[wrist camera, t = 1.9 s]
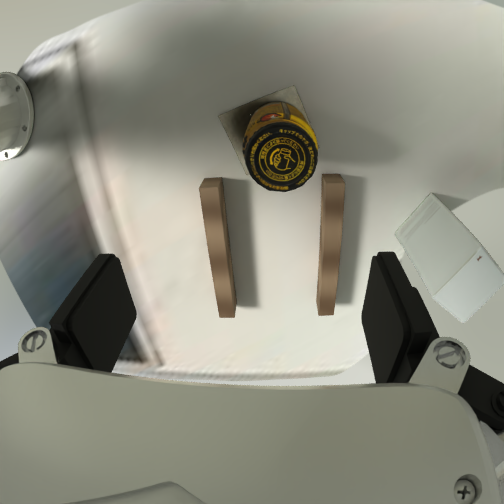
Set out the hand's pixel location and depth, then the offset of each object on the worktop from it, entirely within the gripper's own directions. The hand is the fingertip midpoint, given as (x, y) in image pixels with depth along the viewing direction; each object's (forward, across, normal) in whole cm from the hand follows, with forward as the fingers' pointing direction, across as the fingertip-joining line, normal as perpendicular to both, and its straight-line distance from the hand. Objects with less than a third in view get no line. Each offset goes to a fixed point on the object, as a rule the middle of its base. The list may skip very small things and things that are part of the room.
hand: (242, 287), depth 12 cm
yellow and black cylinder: (+25, 0, -1) cm, 25 cm away
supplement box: (+26, -20, +11) cm, 35 cm away
